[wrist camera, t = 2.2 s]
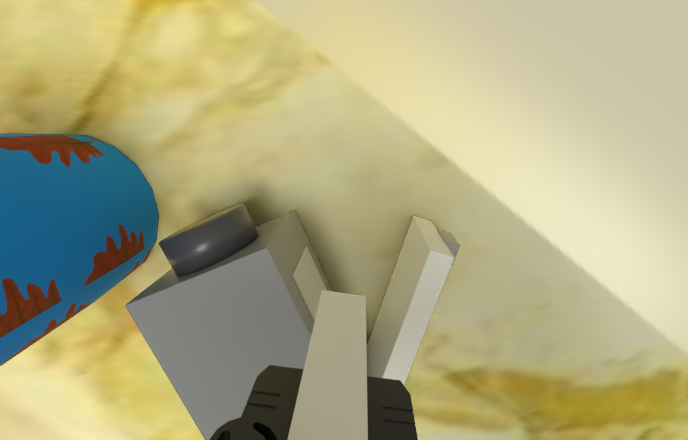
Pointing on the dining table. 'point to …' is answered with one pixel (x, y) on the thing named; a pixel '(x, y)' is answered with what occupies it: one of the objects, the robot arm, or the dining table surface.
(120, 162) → the thermos
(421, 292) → the side door
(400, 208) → the dining table surface
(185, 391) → the camera body
